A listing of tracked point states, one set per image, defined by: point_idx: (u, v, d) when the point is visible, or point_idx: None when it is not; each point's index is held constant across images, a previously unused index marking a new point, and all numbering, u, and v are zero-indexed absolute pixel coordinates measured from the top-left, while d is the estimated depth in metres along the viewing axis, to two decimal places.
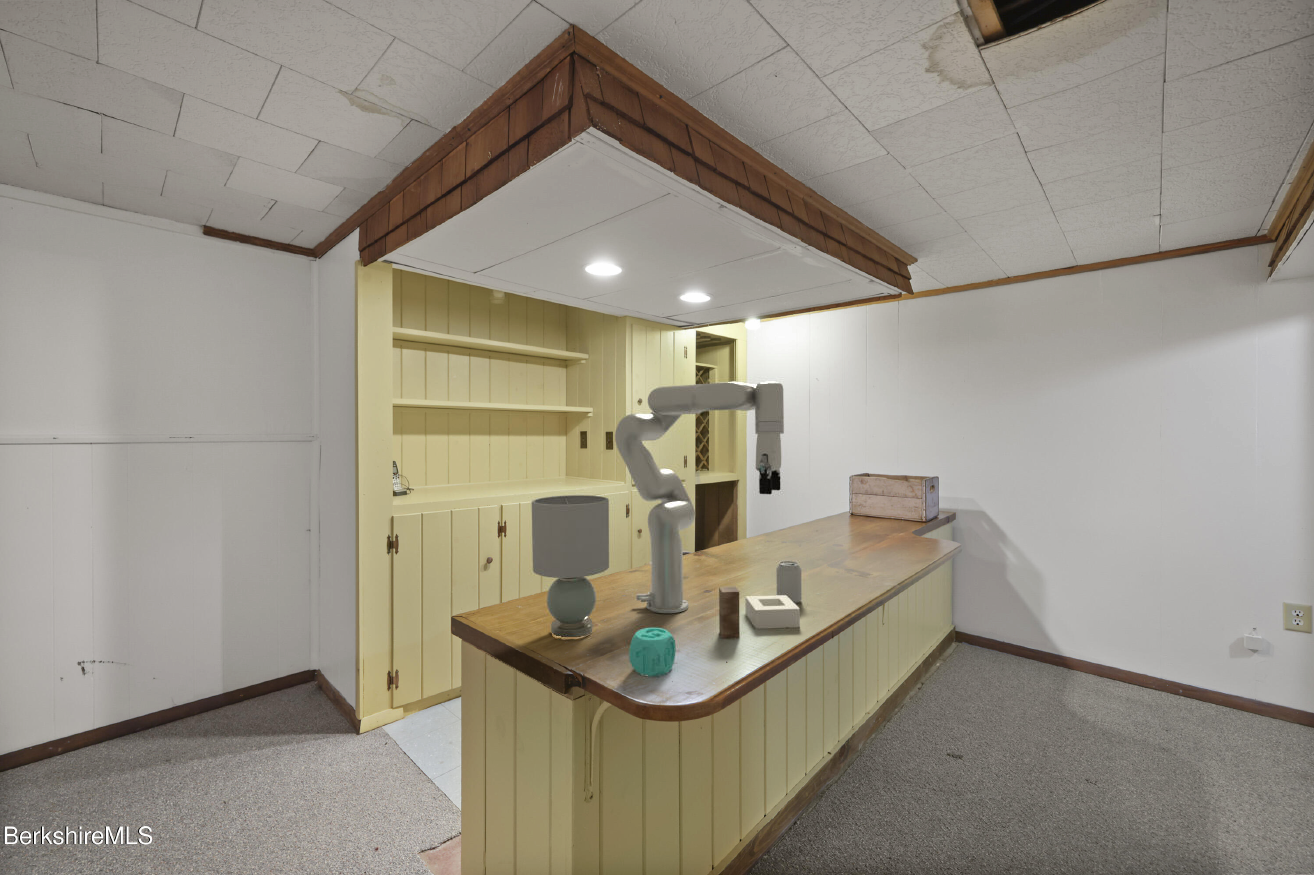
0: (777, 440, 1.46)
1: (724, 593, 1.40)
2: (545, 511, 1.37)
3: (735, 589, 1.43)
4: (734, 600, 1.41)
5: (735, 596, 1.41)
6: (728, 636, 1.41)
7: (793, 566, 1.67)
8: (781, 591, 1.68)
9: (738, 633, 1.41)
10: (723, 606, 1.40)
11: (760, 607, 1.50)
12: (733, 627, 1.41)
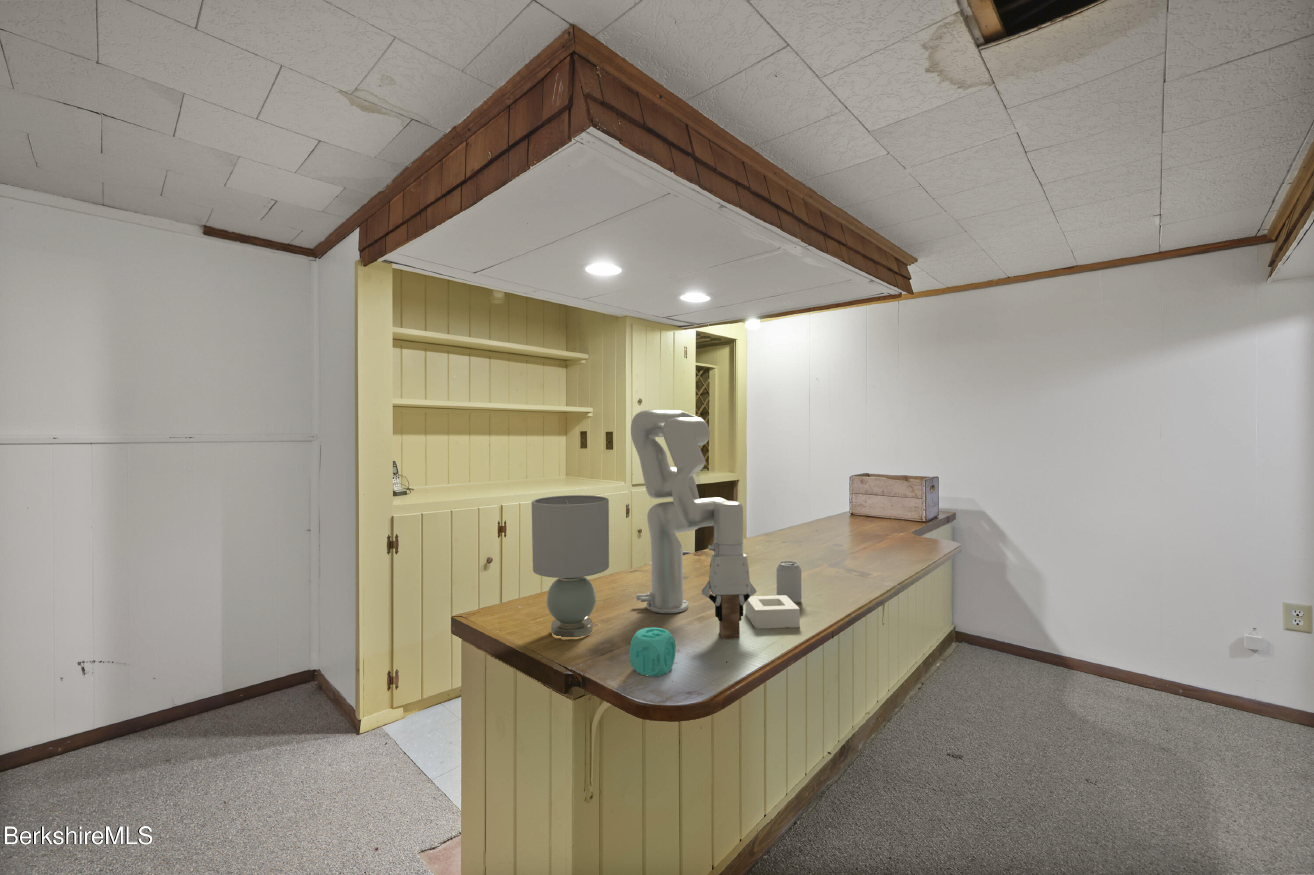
0: None
1: None
2: (545, 511, 1.37)
3: None
4: (734, 600, 1.41)
5: (735, 596, 1.41)
6: (728, 636, 1.41)
7: (793, 566, 1.67)
8: (781, 591, 1.68)
9: (738, 633, 1.41)
10: (723, 606, 1.40)
11: (760, 607, 1.50)
12: (733, 627, 1.41)
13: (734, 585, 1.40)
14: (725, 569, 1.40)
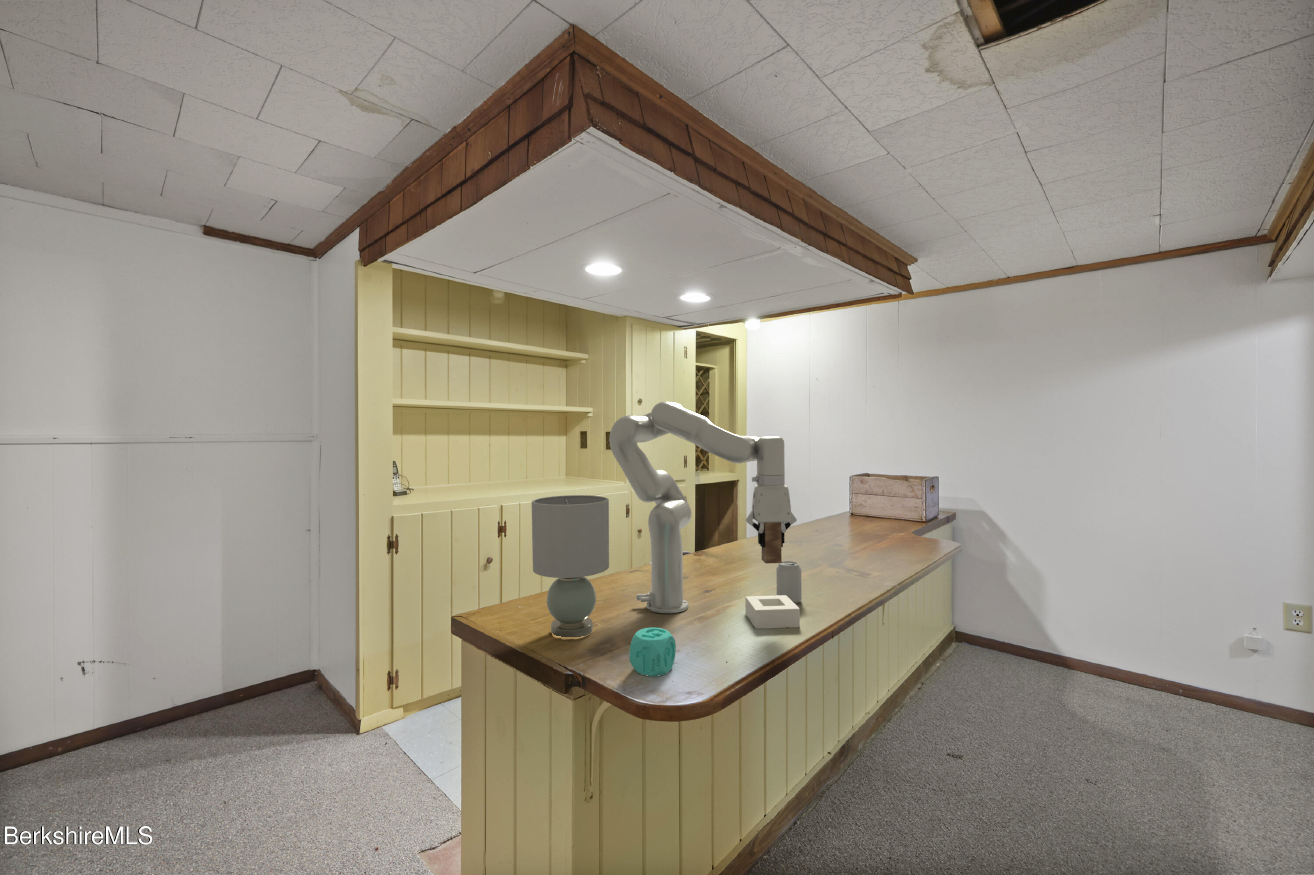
0: None
1: None
2: (545, 511, 1.37)
3: None
4: (776, 527, 1.51)
5: (777, 523, 1.51)
6: (771, 561, 1.51)
7: (793, 566, 1.67)
8: (781, 591, 1.68)
9: (780, 558, 1.51)
10: (766, 533, 1.51)
11: (760, 607, 1.50)
12: (775, 553, 1.51)
13: (776, 513, 1.51)
14: (768, 498, 1.50)
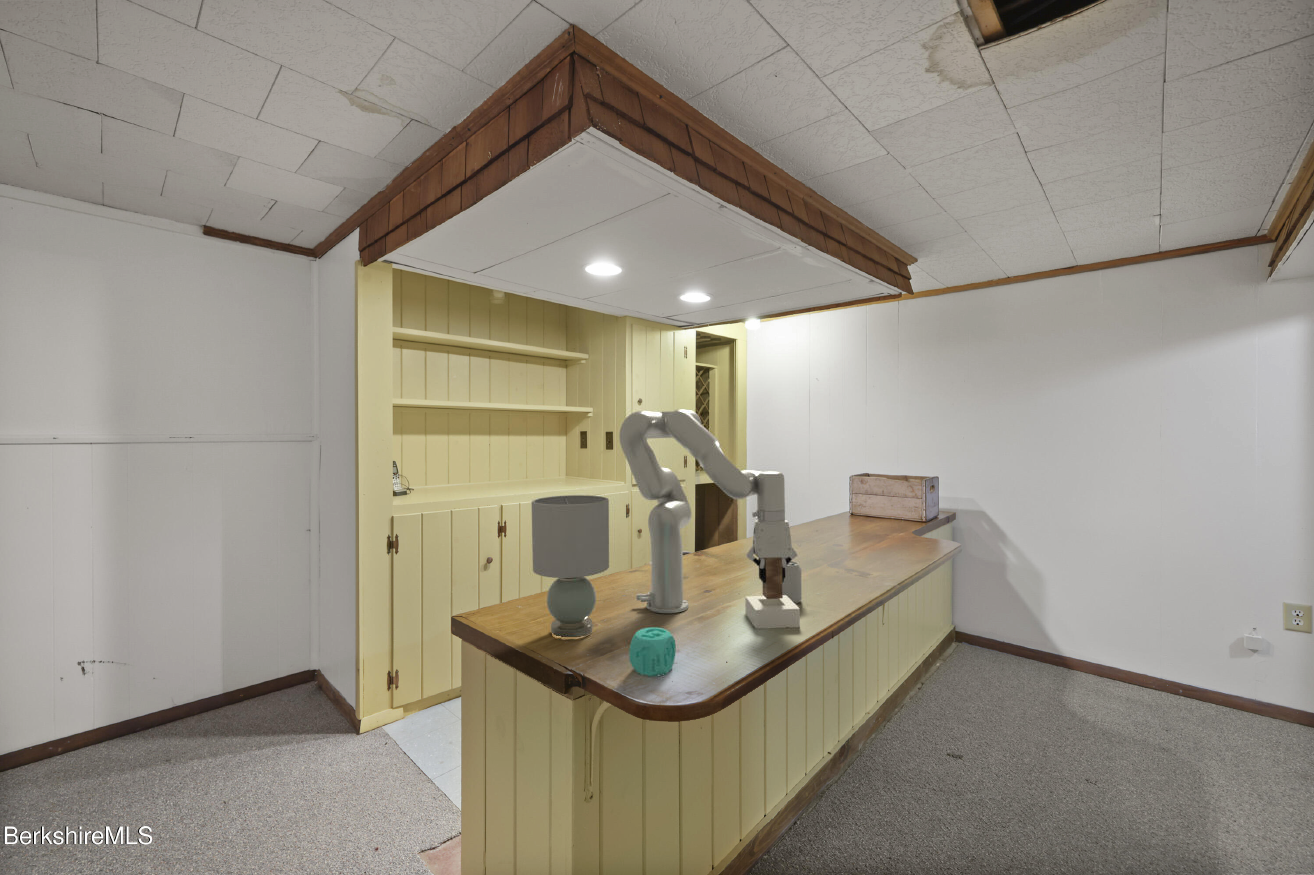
0: None
1: None
2: (545, 511, 1.37)
3: None
4: (777, 562, 1.51)
5: (778, 559, 1.51)
6: (772, 597, 1.51)
7: (793, 566, 1.67)
8: None
9: (781, 593, 1.52)
10: (767, 568, 1.51)
11: (760, 607, 1.50)
12: (776, 588, 1.51)
13: (777, 549, 1.51)
14: (769, 534, 1.51)
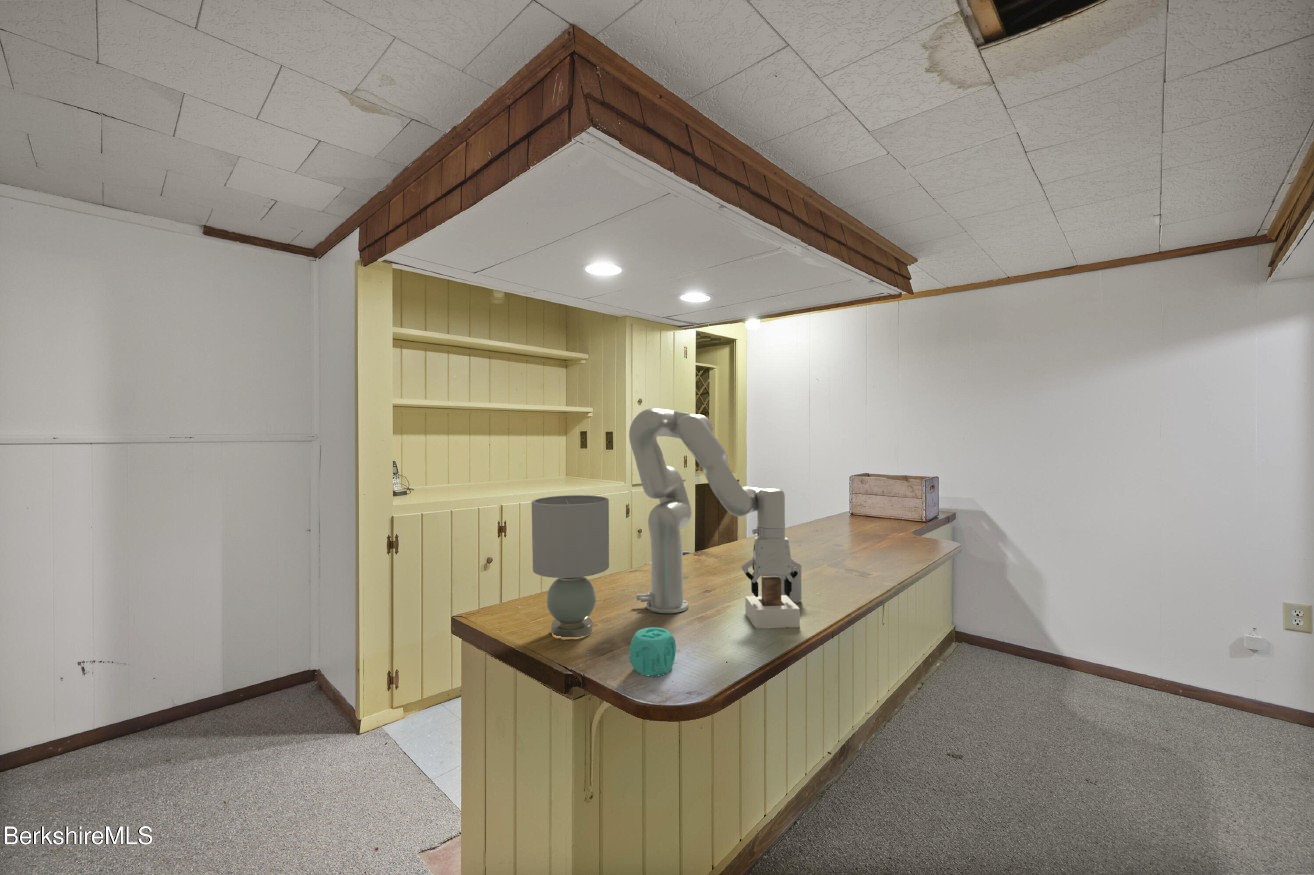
0: None
1: (767, 580, 1.51)
2: (545, 511, 1.37)
3: (777, 577, 1.54)
4: (776, 587, 1.52)
5: (777, 583, 1.52)
6: None
7: (793, 566, 1.67)
8: (781, 591, 1.68)
9: None
10: (766, 593, 1.51)
11: (760, 607, 1.50)
12: None
13: (777, 566, 1.51)
14: (768, 551, 1.51)
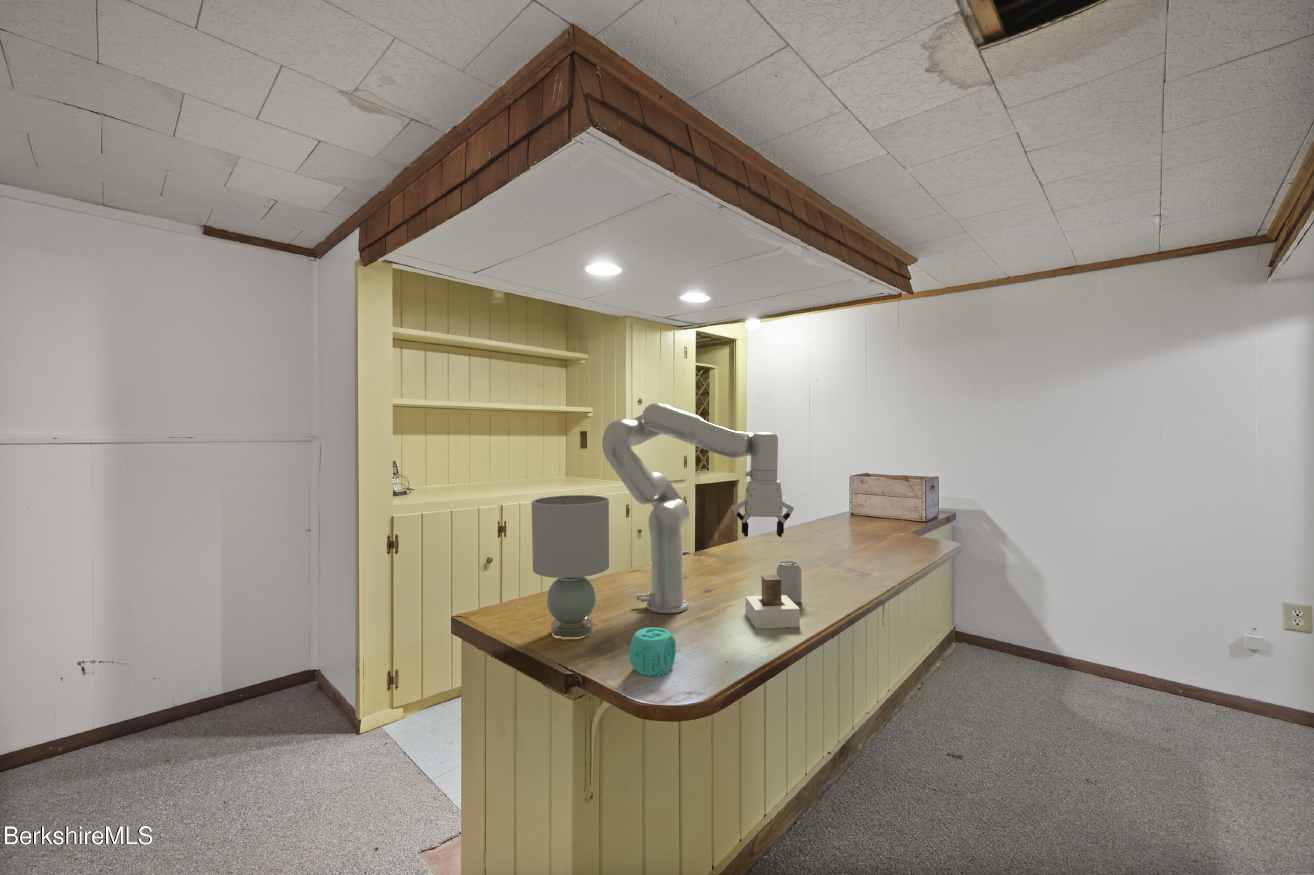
0: None
1: (767, 581, 1.51)
2: (545, 511, 1.37)
3: (777, 577, 1.54)
4: (776, 587, 1.52)
5: (777, 583, 1.52)
6: None
7: (793, 566, 1.67)
8: (781, 591, 1.68)
9: None
10: (766, 593, 1.51)
11: (760, 607, 1.50)
12: None
13: (768, 507, 1.54)
14: (760, 493, 1.54)
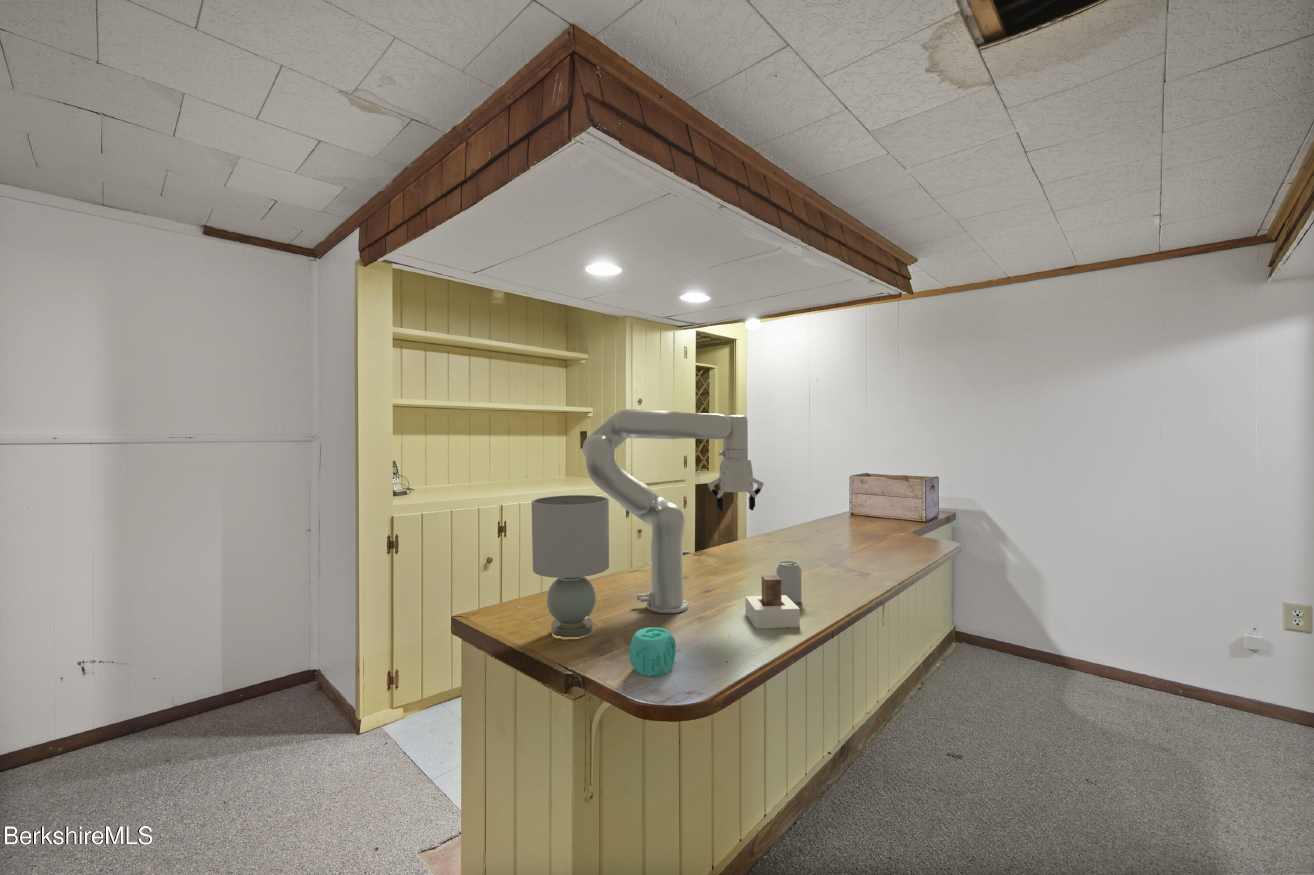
0: None
1: (767, 581, 1.51)
2: (545, 511, 1.37)
3: (777, 577, 1.54)
4: (776, 587, 1.52)
5: (777, 583, 1.52)
6: None
7: (793, 566, 1.67)
8: (781, 591, 1.68)
9: None
10: (766, 593, 1.51)
11: (760, 607, 1.50)
12: None
13: (740, 483, 1.68)
14: (733, 470, 1.68)
